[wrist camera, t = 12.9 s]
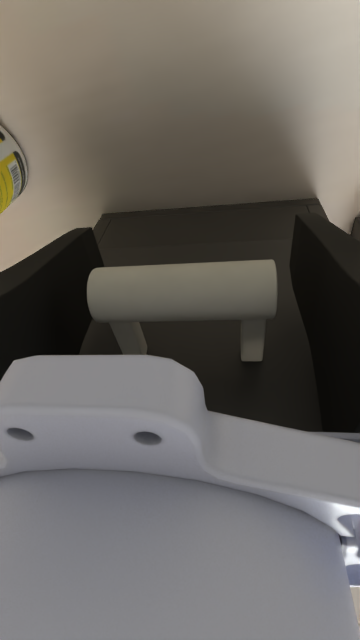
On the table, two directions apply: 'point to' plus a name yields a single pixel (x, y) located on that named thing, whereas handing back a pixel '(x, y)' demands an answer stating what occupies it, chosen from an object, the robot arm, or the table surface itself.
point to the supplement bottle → (11, 170)
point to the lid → (212, 323)
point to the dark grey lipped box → (203, 224)
